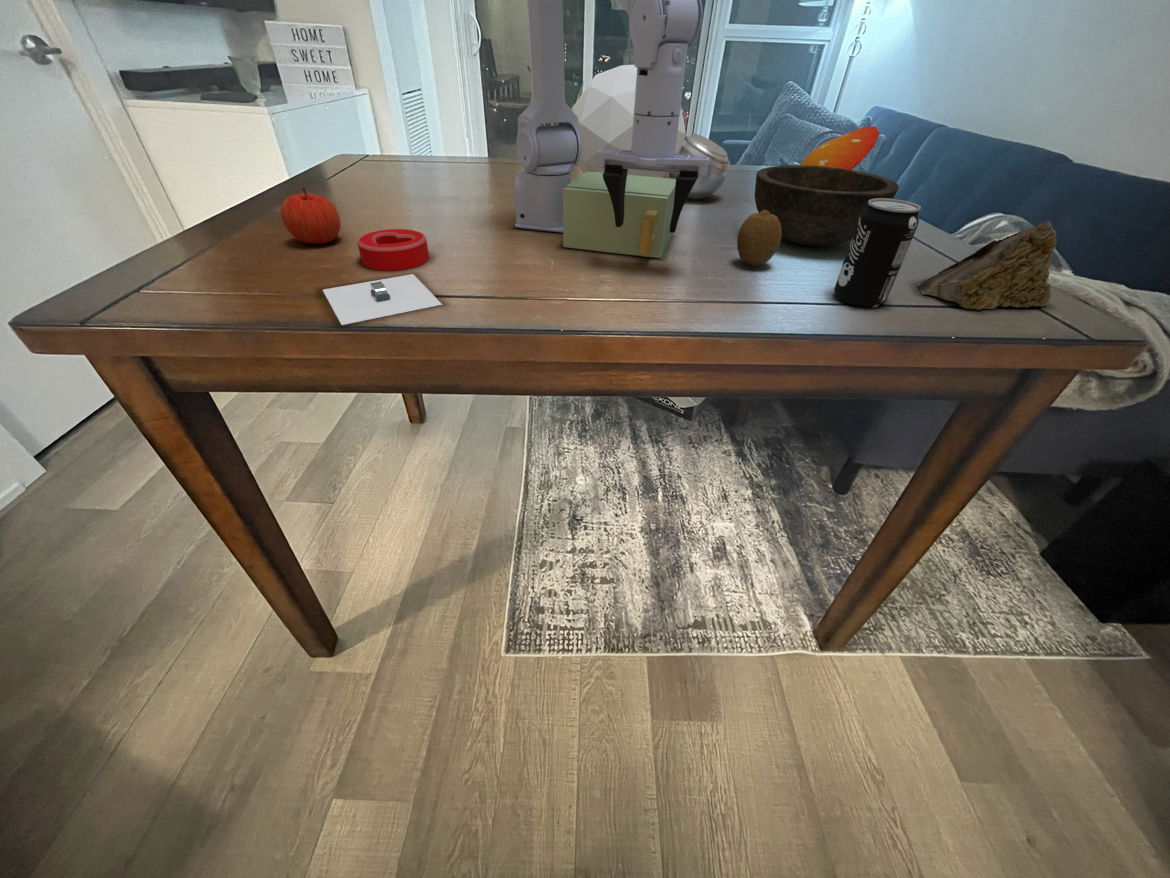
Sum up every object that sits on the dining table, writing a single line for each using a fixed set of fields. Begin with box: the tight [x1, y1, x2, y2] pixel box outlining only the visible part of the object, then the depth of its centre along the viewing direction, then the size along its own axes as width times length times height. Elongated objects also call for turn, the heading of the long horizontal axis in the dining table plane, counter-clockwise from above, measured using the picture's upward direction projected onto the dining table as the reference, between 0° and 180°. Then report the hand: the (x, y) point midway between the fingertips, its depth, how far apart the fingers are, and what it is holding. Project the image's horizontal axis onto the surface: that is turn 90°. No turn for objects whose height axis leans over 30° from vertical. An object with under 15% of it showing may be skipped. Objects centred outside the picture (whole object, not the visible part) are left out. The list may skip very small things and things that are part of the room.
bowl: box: [753, 164, 900, 247], centre depth 84 cm, size 22×22×10 cm
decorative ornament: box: [357, 228, 430, 272], centre depth 74 cm, size 10×10×3 cm
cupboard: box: [566, 172, 676, 258], centre depth 82 cm, size 12×16×9 cm
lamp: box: [571, 64, 731, 200], centre depth 104 cm, size 23×35×24 cm, turn 86°
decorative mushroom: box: [799, 126, 880, 170], centre depth 102 cm, size 15×21×15 cm
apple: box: [280, 186, 341, 245], centre depth 78 cm, size 8×8×8 cm
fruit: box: [736, 210, 782, 267], centre depth 75 cm, size 6×6×8 cm
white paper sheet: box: [322, 273, 443, 326], centre depth 64 cm, size 12×12×2 cm
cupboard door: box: [562, 187, 669, 259], centre depth 75 cm, size 6×16×9 cm, turn 74°
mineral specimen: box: [917, 220, 1058, 310], centre depth 69 cm, size 12×13×15 cm
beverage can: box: [833, 198, 922, 309], centre depth 64 cm, size 7×7×12 cm
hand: (645, 228), depth 71 cm, fingers open, 7 cm apart
